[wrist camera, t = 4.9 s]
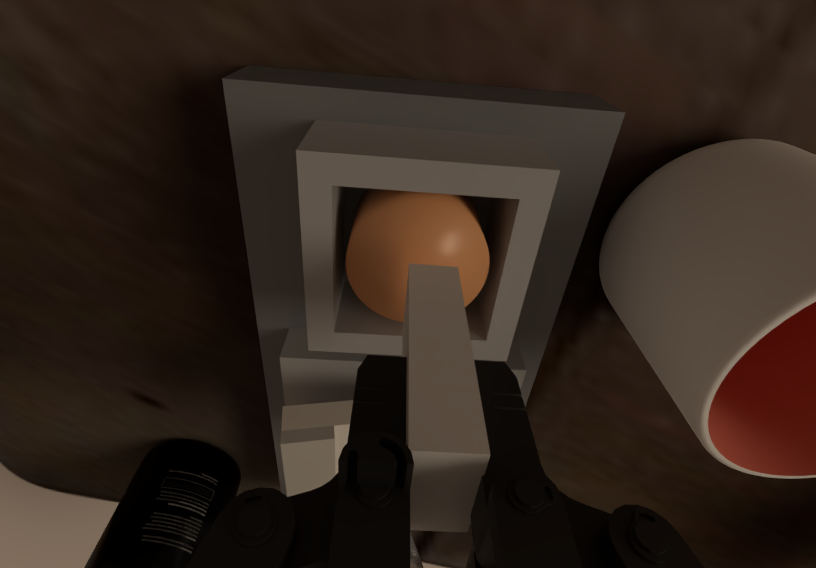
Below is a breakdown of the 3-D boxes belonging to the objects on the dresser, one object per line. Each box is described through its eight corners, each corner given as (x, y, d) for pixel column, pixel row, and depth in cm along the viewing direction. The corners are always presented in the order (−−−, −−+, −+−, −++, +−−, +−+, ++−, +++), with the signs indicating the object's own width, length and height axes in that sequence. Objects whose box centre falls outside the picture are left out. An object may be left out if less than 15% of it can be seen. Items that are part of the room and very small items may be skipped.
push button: (487, 173, 17) (502, 206, 14) (467, 283, 19) (476, 327, 17) (354, 163, 16) (345, 194, 14) (353, 275, 19) (345, 319, 17)
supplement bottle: (124, 452, 31) (-7, 672, 21) (201, 425, 30) (98, 648, 20) (190, 501, 35) (105, 708, 25) (262, 478, 33) (202, 691, 23)
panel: (595, 95, 18) (676, 141, 13) (478, 485, 34) (493, 580, 28) (248, 65, 17) (178, 101, 12) (293, 478, 33) (272, 574, 28)
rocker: (513, 386, 20) (529, 418, 18) (491, 456, 23) (503, 489, 21) (282, 406, 18) (280, 444, 16) (291, 480, 21) (289, 518, 19)
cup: (672, 97, 18) (896, 191, 10) (857, 170, 20) (1178, 300, 12) (554, 287, 23) (635, 451, 15) (708, 331, 25) (857, 499, 17)
